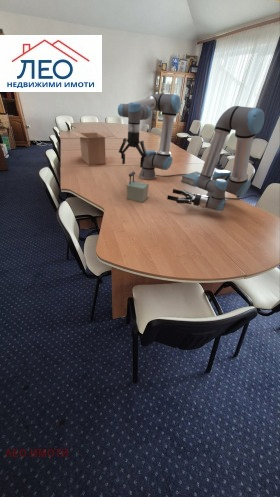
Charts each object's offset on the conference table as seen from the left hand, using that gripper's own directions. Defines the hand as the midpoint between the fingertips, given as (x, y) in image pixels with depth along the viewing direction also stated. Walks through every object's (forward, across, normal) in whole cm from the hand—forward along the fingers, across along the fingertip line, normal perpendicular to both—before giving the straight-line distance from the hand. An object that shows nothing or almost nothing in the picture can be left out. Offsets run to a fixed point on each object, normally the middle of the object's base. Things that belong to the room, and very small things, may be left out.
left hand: (132, 165), depth 154 cm
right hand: (+14, +30, -1) cm, 33 cm away
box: (+23, -73, +65) cm, 101 cm away
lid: (+14, +5, 0) cm, 14 cm away
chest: (+23, +5, 0) cm, 24 cm away
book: (+23, +38, +62) cm, 76 cm away
